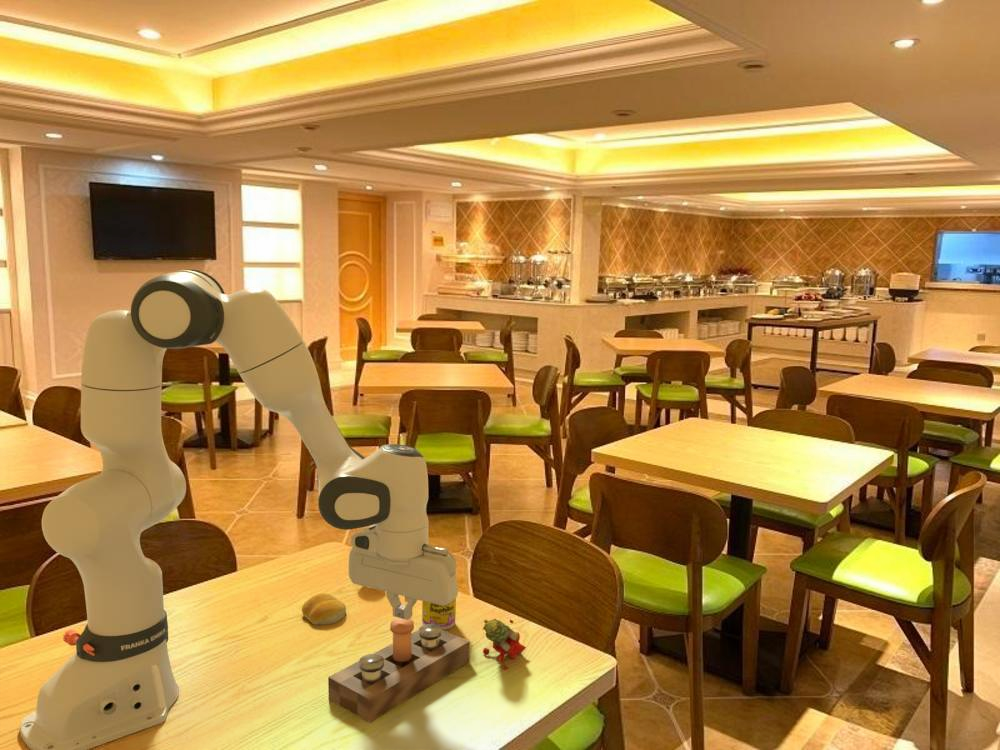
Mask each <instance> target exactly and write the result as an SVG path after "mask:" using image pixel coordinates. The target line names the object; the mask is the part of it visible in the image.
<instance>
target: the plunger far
mask: <svg viewBox="0 0 1000 750" xmlns="http://www.w3.org/2000/svg"><path fill="white" fill-rule="evenodd" d="M418 630H419V636H420V637H421V648H423V649H426V650H428V651H430V652H431V651H433V650H435V649H436V648H438V647H439V637H440V636H441V627H440V626H439V625H436V624H425V625H423V624H422V625H421V626H420V627H419V628H418Z"/></svg>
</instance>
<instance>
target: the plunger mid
mask: <svg viewBox="0 0 1000 750" xmlns="http://www.w3.org/2000/svg"><path fill="white" fill-rule="evenodd" d="M389 628H390V632H391V633H392V644H393V659H394V660H396V661H400V662H403V661H407V660H409V659H411V650H412V633H413V631H414V630H415V622H414V620H413V619H412V618H410V619H409V620H406V619H402V618H398V617H396V618H394V619H393V620H391V621H390V627H389Z"/></svg>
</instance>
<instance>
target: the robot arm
mask: <svg viewBox="0 0 1000 750" xmlns="http://www.w3.org/2000/svg"><path fill="white" fill-rule="evenodd" d="M130 305H131V306H130V310H129V309H117V310H116V309H114V310H111V311H110V310H108V311H107V312H103V313H101V314H99V315H97V316H96V317H95V318H94V319H93V320H91V323H90V324H89V327H88V330H87V334H86V339H85V343H84V348H83V356H82V362H81V363H82V365H81V377H80V378H81V381H80V384H81V385H80V386H81V387H80V431H81V434H82V436H83V437H84V438H85V439H86V440H87V441H88V442H89V443H91V444H93V445H94V446H97V448H98V451H99V453H100V456H101V459H102V461H101V462H102V468H101V469H102V470H101V473H99V474H97V475H94V476H91V477H89V478H87V479H84V480H81V481H79V482H77V483H75V484H73V485H70V487H68V488H66V489H65V490H64V491H62V492H61V493H60V494H58V495H57V496H56V497H55V498H53V499H52V500H50V502H49V503H48V504H47V505H46V506H45V508H44V510H43V513H42V517H41V530H42V533H43V537H44V538H45V541H46V542H47V544H48V545H49V546H50V547H51V549H52V550H53V551H55V552H56V553H57V554H59V555H61V556H63V557H65V558H68V559H69V560H71V561H72V563H73V564H74V565H75V567H76V569H77V570H78V572H79V575H80V577H81V579H82V584H83V590H84V599H85V607H86V621H87V623H86V624H85V627H84V628H83V629H84V630H83V631H82V633H79V632H77V631H76V630H75V629H68V630H67V631H65V632H64V634H63V635H62V636H63V637H62V639H63V641H64V643H66V644H67V645H68V646H73V647H74V646H75V649H76V652H75V653H74V654H73V655H72V656H70V657H69V658H68V660H67V661H66V662H65V663H64V664H63V665H62V666H61V667H59V669H58V670H56V672H55V673H54V674H52V675H51V676H50V677H49V679H47V680H45V682H44V683H43V684H42V686H41V687H40V689H39V693H38V696H37V700H36V701H37V702H36V710H35V711H33V712H31V713H30V714H27V715H25V716H24V717H23V719H22V720H21V723H20V730H19V732H20V736H21V739H22V741H23V742H24V744H25V745H26V746H27V747H28V748H29V749H30V750H89V749H93V748H95V747H98V746H100V745H104V744H106V743H109V742H111V741H115V740H118V739H119V738H122V737H125V736H128V735H131V734H134V733H136V732H140V731H142V730H145V729H148V728H150V727H154V726H157V725H159V724H161V723H163V722H165V720H166V719H167V716H168V711H169V709H170V708H171V706H173V704H174V703H175V702H176V700H177V698H178V697H179V694H180V690H179V685H178V683H177V680H176V678H175V676H174V672H173V669H172V665H171V660H170V656H169V649H168V640H169V622H168V614H167V612H166V610H165V607H164V592H163V591H164V586H163V572H162V569H161V567H160V565H159V564H158V563H157V562H155V561H154V560H152V559H151V558H148V557H146V556H145V555H144V553H143V550H142V547H141V541H140V540H141V539H140V538H141V534H142V532H144V531H145V530H147V529H149V528H152V527H153V526H154V525H157V524H158V523H160V522H162V521H163V520H165V519H166V518H167V517H169V516H170V514H171V513H173V512H174V511H175V510H176V508H177V507H179V505H180V504H181V503H182V502H183V500H184V499H185V496H186V494H187V493H186V492H187V482H186V478H185V475H184V473H183V471H182V470H181V468H180V467H179V466H178V465H177V464H176V463H175V462H174V461H172V460H171V458H170V457H169V455H168V451H167V449H166V445H165V443H164V438H163V433H162V432H163V431H162V390H163V389H162V387H163V385H162V384H163V383H162V380H163V362H164V361H163V360H164V357H165V354H166V351H167V350H168V349H169V350H181V349H187V348H191V347H192V348H194V347H199V346H206V345H211V344H214V343H216V344H217V345H219V346H221V347H222V348H223V350H224V351H225V352H226V354H227V355H228V358H229V359H230V360H231V362H232V363H233V366H234V367H235V369H236V370H237V373H238V374H239V376H240V378H241V380H242V381H243V383H244V384H245V386H246V388H247V389H248V390H249V392H250V393H251V394H252V396H253V397H254V398H255V399H256V400H257V401H258V403H259V404H260V406H262V407H263V408H264V409H265V410H267V411H270V412H272V413H273V412H274V413H277V414H279V415H281V416H282V417H284V418H285V419H287V420H288V421H289V422H290V424H292V426H293V427H294V428H295V430H296V432H297V433H298V435H299V436H300V439H301V440H302V442H303V443H304V445H305V447H306V449H307V450H308V452H309V454H310V455H311V458H313V460H314V463H315V467H316V470H317V471H316V473H317V475H316V477H317V486H318V496H317V497H318V498H317V499H318V503H317V504H318V511H319V513H320V515H321V518H323V520H324V521H325V522H326V523H327V524H329V525H330V526H331V527H333V528H336V529H339V530H344V531H345V530H349V531H350V530H353V529H354V530H355V529H360V528H362V529H361V530H358V531H357V532H355V533H354V534H352V535H351V536H350V540H349V541H350V545H351V546H352V548H351V549H350V551H349V554H348V577H349V579H350V581H351V583H352V584H353V585H357V586H362V587H366V588H370V589H374V590H378V591H382V592H386V599H387V600H388V602H389V604H390V607H392V616H393V617H395V618H402V619H406V620H409V619H412V617H413V608H414V606H415V605H416V603H417V601H421V602H422V601H425V602H429V603H433V604H437V605H441V606H446V605H448V604H449V603H451V602H452V601H453V600H454V599H455V598H456V599H457V597H458V594H459V590H458V589H459V588H458V585H459V584H458V576H457V575H458V574H457V560H456V559H457V558H456V557H455V556H454V554H452V553H451V552H450V551H449V549H448V548H444V547H437V546H434V545H430V544H429V517H428V514H427V505H428V501H429V477H428V468H427V461H426V458H425V456H424V455H423V454H422V453H421V452H420V451H419V450H418V449H416V448H414V447H411V446H408V445H405V444H404V445H403V444H398V443H391V444H382V445H381V446H380V447H379V448H378V449H377V450H376V451H374V452H373V453H372V454H370V455H368V456H367V457H365V456H364V455H363V454H361V453H360V452H358V451H357V450H355V448H353V447H352V446H351V445H350V444H349V443H348V442H347V440H346V439H345V437H344V435H343V433H342V432H341V430H340V428H339V426H338V425H337V423H336V421H335V419H334V417H333V416H332V414H331V412H330V410H329V408H328V407H327V404H326V401H325V399H324V395H323V391H322V386H321V381H320V377H319V374H318V371H317V368H316V364H315V362H314V360H313V357H312V355H311V352H310V350H309V348H308V346H307V345H306V344H307V343H306V342H305V341H304V339H303V336H302V335H301V332H300V331H299V330H298V328H297V326H296V324H294V322H293V320H292V319H291V317H290V316H289V315H288V313H287V312H286V310H285V309H284V308H283V306H282V305H281V303H279V302H278V300H277V299H276V298H275V296H274V295H273V294H272V293H271V292H269V291H267V290H266V289H263V288H257V287H256V288H255V287H253V288H252V287H251V288H250V287H248V288H244V289H241V290H238V291H236V292H233V293H231V294H225V291H224V289H223V287H222V286H221V284H220V282H219V281H217V280H216V279H215V278H214V277H213V276H211V275H210V274H208V273H207V272H204V271H201V270H197V269H178V270H171V271H167V272H165V273H161V274H160V275H159V276H156V277H153V278H151V279H149V280H147V281H146V282H144V283H143V284H142V285H141V286H140V287H139V289H137V291H136V292H135V294H134V296H133V298H132V300H131V304H130ZM364 527H365V528H364ZM399 596H403V597H404V602H406V604H402V602H401V599H400V597H399Z"/></svg>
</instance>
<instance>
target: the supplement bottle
mask: <svg viewBox="0 0 1000 750" xmlns="http://www.w3.org/2000/svg"><path fill="white" fill-rule="evenodd" d="M456 599H457V597H456V598H455V599H454V600H453V601H452V602H451V603H449V604H448V605H446V606H441V605H437V604H433V603H429V602H425V601H421V602H422V604H421V605H422V607H421V610H422V611H421V614H422V615H421V618H422V619H421V621H422V623H421V624H422V626H423V625H425V624H436V625H439V626H440V627H441V630H444V631H447V630H450V629H452V628H453V627H454V625H455V624H456V615H457V614H456V613H457V612H456V609H457V608H456V606H457V605H456V604H457V600H456Z"/></svg>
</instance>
